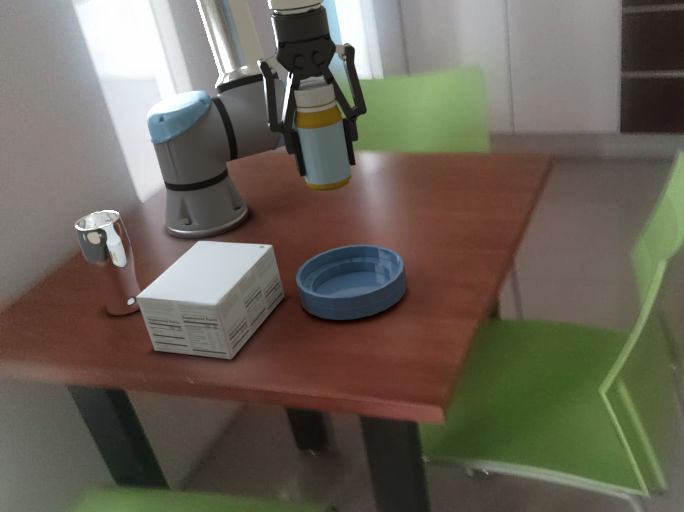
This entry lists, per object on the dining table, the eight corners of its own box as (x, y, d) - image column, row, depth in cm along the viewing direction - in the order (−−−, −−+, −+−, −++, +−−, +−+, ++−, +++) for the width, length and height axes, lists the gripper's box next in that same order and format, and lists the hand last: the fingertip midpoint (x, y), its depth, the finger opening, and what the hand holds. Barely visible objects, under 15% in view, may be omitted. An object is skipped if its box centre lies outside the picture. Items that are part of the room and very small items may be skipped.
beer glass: (124, 321, 121) (92, 233, 113) (95, 311, 124) (62, 226, 116) (158, 299, 126) (130, 213, 118) (129, 290, 129) (100, 207, 121)
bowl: (284, 293, 123) (279, 268, 121) (374, 259, 130) (371, 235, 127) (330, 337, 111) (324, 310, 109) (426, 297, 117) (423, 271, 115)
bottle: (345, 191, 116) (328, 90, 109) (300, 193, 118) (280, 93, 110) (357, 174, 122) (341, 76, 114) (314, 175, 124) (296, 79, 116)
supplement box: (212, 291, 126) (197, 239, 121) (286, 297, 122) (273, 243, 117) (152, 351, 113) (132, 295, 108) (232, 360, 109) (216, 302, 104)
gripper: (226, 25, 102) (264, 190, 114) (375, -1, 106) (396, 162, 118) (222, 16, 108) (258, 173, 120) (362, -8, 112) (383, 147, 124)
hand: (326, 167), depth 119 cm, fingers closed on bottle, 7 cm apart
